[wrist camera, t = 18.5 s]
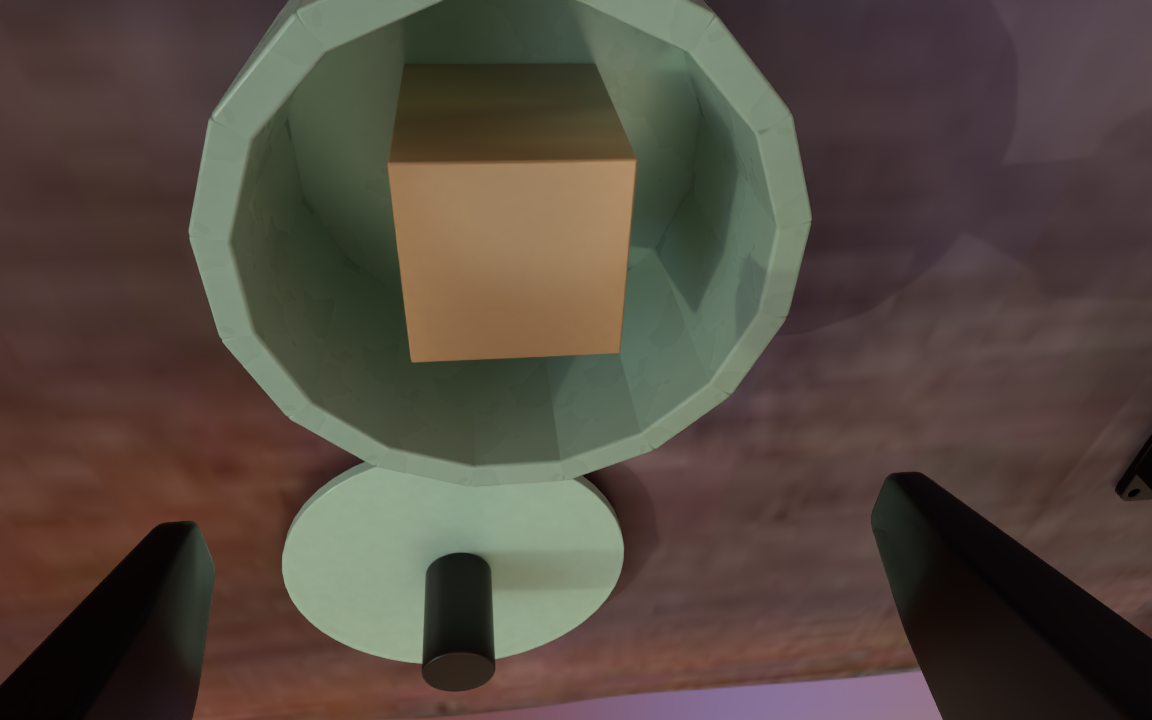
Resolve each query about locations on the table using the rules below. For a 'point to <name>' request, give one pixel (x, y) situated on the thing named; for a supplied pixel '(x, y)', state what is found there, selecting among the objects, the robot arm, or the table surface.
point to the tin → (369, 249)
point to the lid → (450, 567)
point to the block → (510, 210)
